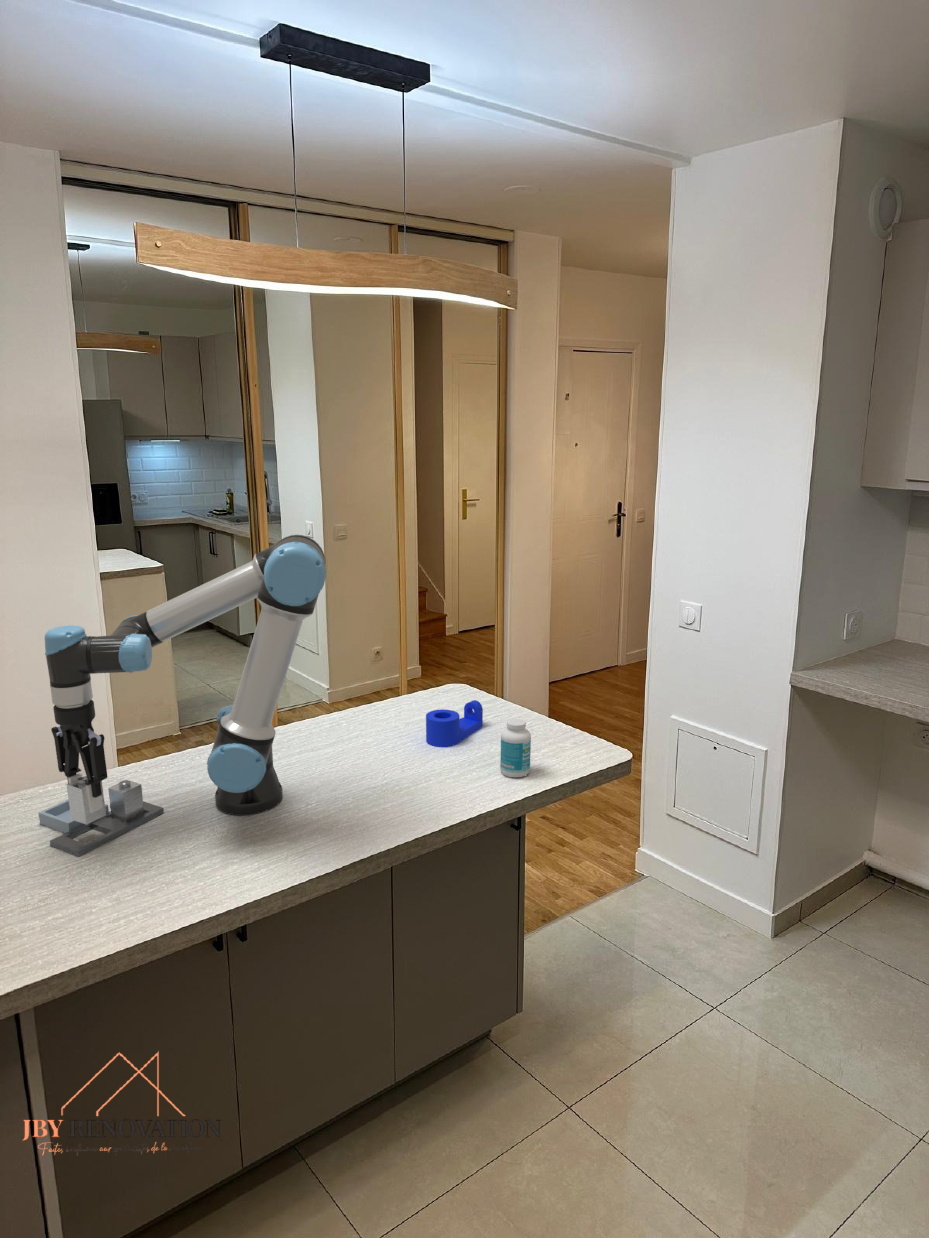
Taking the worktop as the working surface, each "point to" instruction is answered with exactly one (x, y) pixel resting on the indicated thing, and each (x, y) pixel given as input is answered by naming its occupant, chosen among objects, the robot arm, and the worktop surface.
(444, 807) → the worktop surface
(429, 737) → the bracket
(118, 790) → the grey knobbed block
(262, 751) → the robot arm
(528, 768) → the pill bottle
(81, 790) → the knobbed metal block
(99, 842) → the grey slotted plate
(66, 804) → the tray
